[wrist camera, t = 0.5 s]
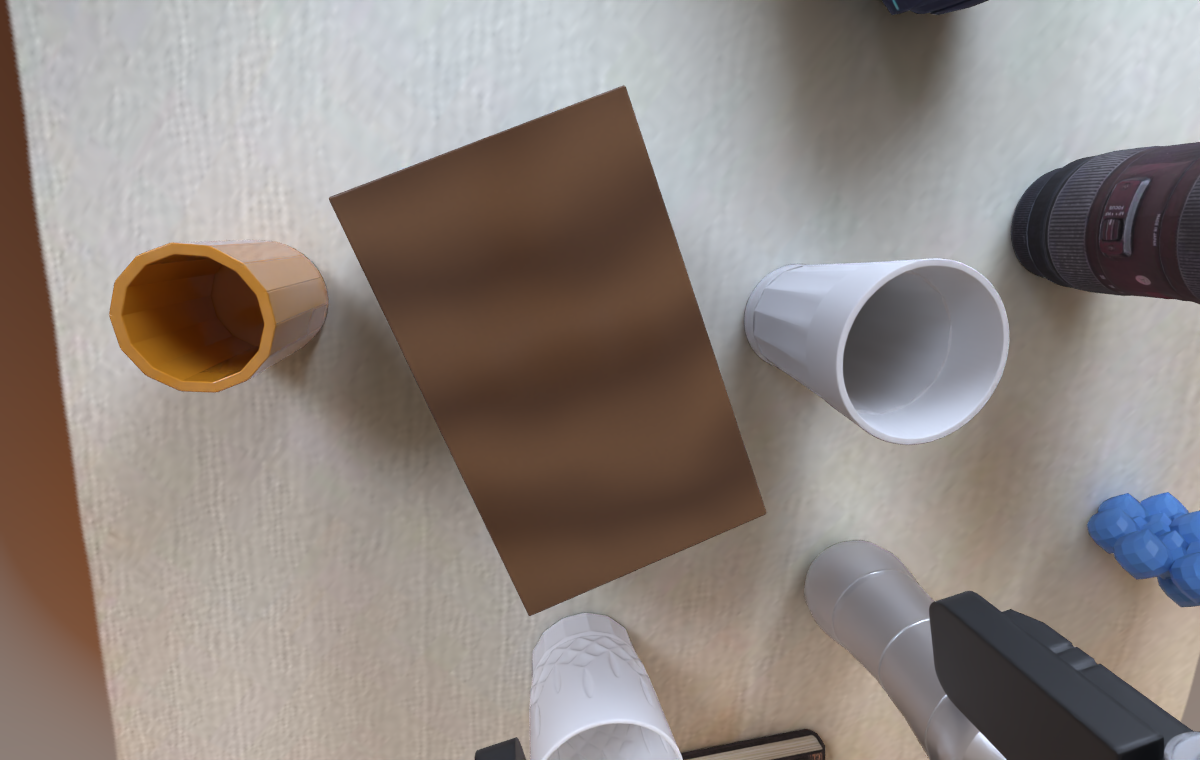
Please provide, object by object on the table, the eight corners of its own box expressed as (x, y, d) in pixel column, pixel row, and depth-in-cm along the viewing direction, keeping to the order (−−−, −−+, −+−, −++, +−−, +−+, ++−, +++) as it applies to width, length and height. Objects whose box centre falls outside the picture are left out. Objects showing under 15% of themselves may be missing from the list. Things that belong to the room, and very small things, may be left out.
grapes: (1025, 566, 45) (1206, 682, 34) (1040, 479, 43) (1236, 568, 32) (1162, 554, 47) (1379, 659, 35) (1182, 469, 45) (1416, 550, 34)
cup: (773, 406, 39) (889, 480, 27) (706, 302, 37) (802, 335, 25) (876, 330, 39) (1037, 372, 27) (816, 222, 37) (963, 218, 25)
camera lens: (1043, 315, 41) (1344, 363, 26) (976, 225, 38) (1264, 222, 24) (1136, 224, 40) (1495, 221, 26) (1073, 127, 38) (1427, 64, 23)
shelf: (387, 209, 33) (327, 197, 21) (581, 134, 33) (625, 84, 22) (519, 499, 38) (529, 617, 26) (686, 429, 38) (767, 514, 27)
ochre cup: (184, 265, 32) (76, 277, 24) (296, 222, 32) (229, 220, 24) (242, 369, 33) (160, 414, 25) (349, 327, 34) (302, 358, 26)
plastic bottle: (893, 589, 44) (1205, 872, 24) (806, 629, 43) (1053, 949, 24) (870, 512, 42) (1187, 752, 23) (779, 554, 41) (1023, 833, 22)
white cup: (509, 701, 41) (512, 845, 31) (539, 594, 39) (553, 711, 30) (622, 714, 42) (659, 856, 33) (656, 613, 41) (704, 729, 31)
